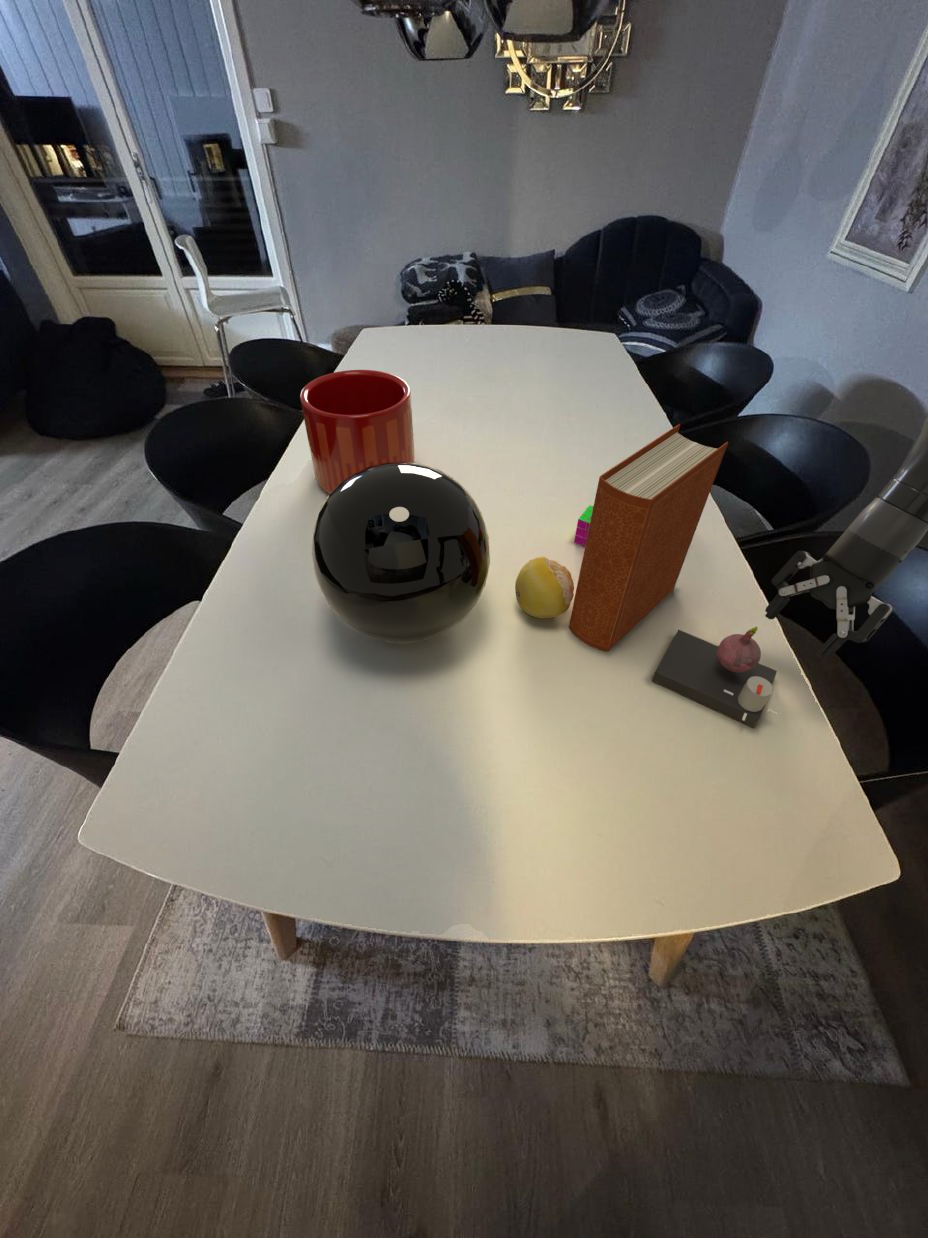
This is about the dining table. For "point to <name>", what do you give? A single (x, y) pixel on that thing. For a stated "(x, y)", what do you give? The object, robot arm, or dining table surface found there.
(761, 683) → the burner knob
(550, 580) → the fruit
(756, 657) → the vegetable
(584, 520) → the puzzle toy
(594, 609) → the book
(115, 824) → the dining table surface
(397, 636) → the ball
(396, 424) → the planter
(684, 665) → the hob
